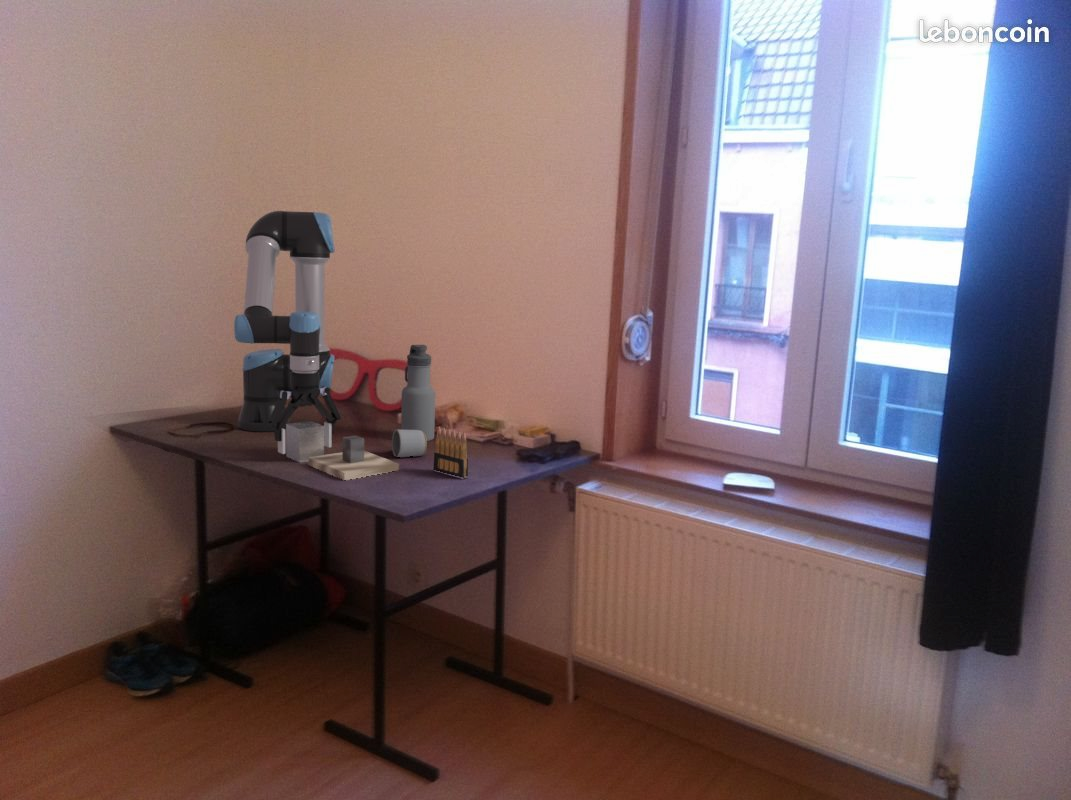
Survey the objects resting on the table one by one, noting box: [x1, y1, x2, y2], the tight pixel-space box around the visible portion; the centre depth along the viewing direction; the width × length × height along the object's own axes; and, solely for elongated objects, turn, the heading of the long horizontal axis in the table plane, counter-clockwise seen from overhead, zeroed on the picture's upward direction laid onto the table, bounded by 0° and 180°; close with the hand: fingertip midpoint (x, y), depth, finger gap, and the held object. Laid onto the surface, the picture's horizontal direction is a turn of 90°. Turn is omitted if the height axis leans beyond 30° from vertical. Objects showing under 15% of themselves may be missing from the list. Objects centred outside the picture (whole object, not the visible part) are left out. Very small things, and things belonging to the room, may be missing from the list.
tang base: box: [307, 435, 400, 481], centre depth 236 cm, size 18×16×8 cm
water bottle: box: [400, 344, 436, 442], centre depth 269 cm, size 10×10×28 cm
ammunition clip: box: [432, 426, 469, 478], centre depth 233 cm, size 11×2×12 cm, turn 51°
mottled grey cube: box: [285, 420, 325, 463], centre depth 244 cm, size 7×7×9 cm
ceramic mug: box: [391, 428, 428, 458], centre depth 252 cm, size 11×8×8 cm
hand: (305, 449), depth 244 cm, fingers open, 13 cm apart
